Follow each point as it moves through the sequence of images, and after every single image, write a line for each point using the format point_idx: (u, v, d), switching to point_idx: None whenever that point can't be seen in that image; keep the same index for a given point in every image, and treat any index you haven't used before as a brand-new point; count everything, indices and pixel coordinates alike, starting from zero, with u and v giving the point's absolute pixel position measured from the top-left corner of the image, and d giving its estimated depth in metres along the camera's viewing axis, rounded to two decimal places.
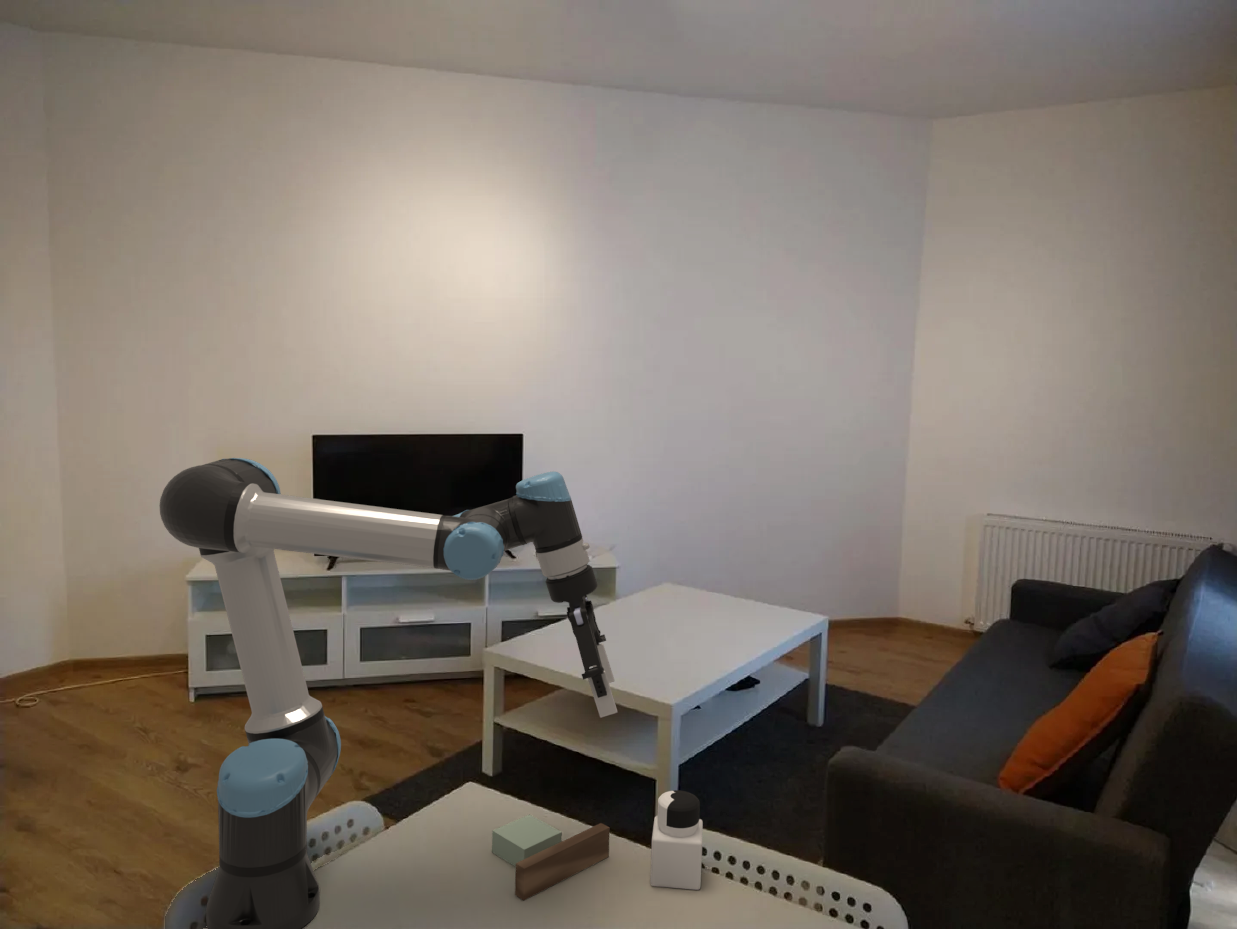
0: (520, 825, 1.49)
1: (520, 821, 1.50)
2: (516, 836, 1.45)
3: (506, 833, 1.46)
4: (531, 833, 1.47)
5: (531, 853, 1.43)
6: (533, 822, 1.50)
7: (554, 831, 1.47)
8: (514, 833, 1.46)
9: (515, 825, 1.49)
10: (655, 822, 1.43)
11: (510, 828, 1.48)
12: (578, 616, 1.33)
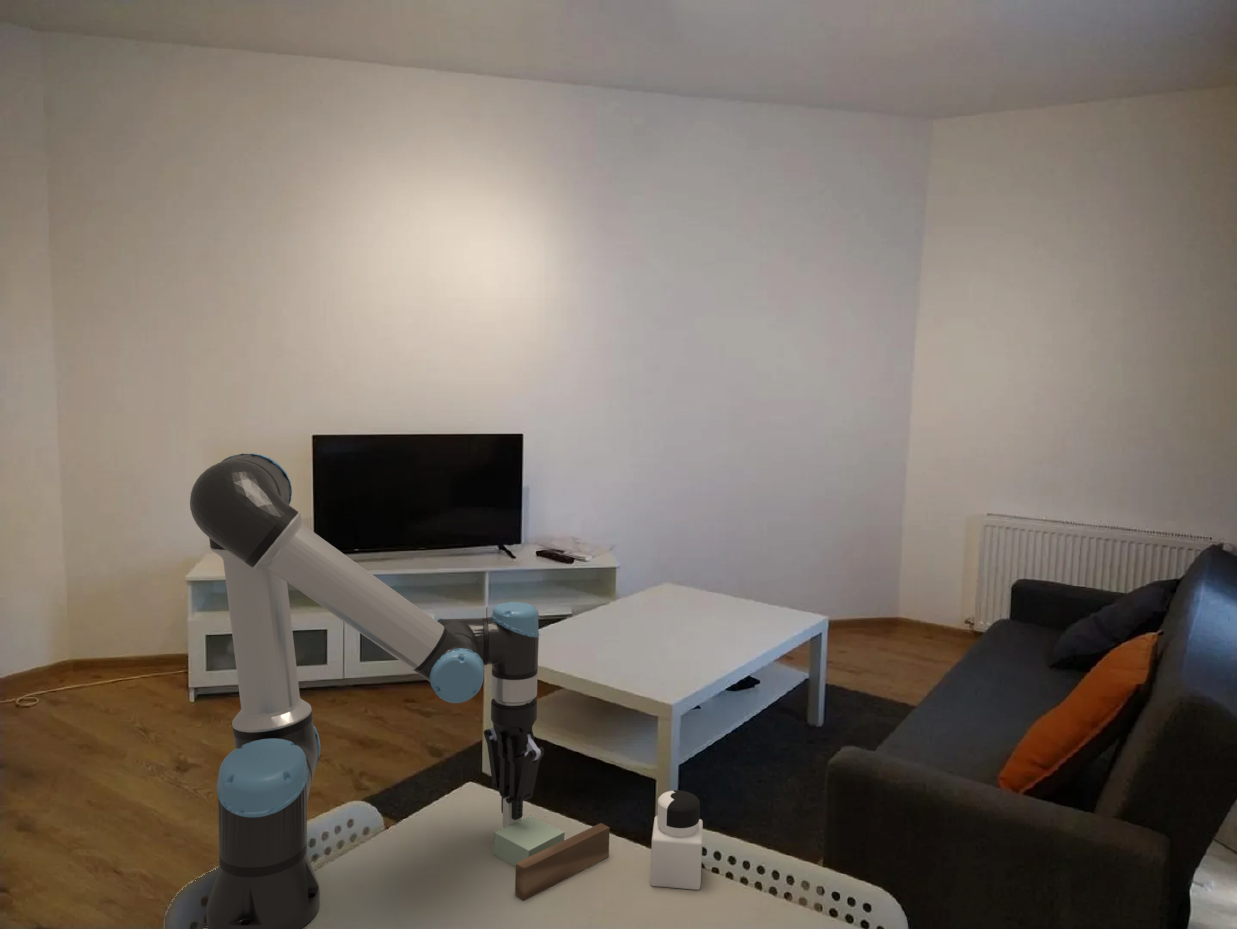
0: (522, 826, 1.48)
1: (521, 822, 1.50)
2: (519, 837, 1.45)
3: (509, 835, 1.45)
4: (534, 834, 1.46)
5: None
6: (535, 822, 1.50)
7: (557, 831, 1.47)
8: (517, 834, 1.46)
9: (517, 827, 1.48)
10: (655, 822, 1.43)
11: (512, 829, 1.47)
12: (537, 756, 1.44)
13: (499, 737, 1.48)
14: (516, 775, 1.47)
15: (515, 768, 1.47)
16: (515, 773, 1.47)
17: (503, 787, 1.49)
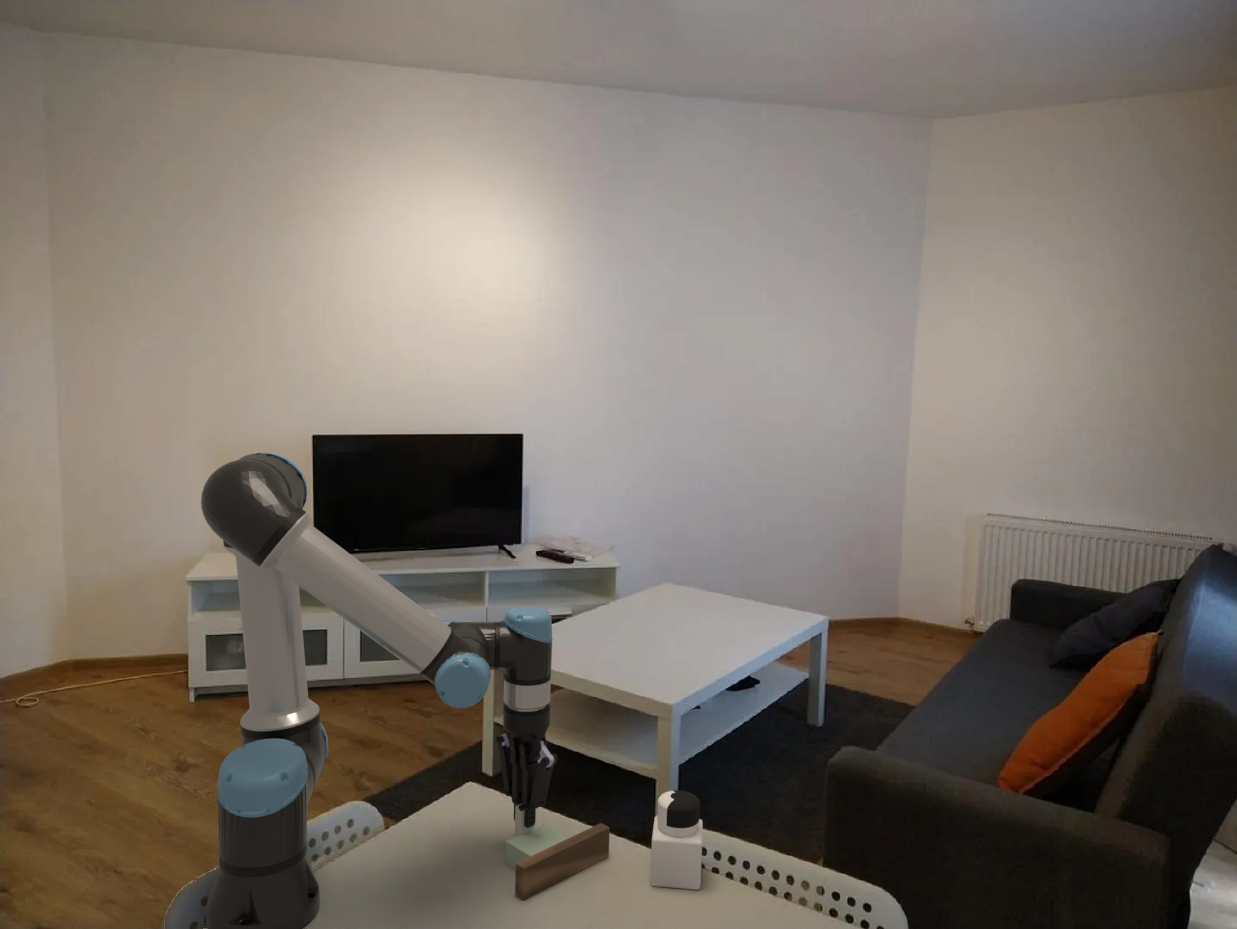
0: (534, 835, 1.46)
1: (534, 831, 1.47)
2: (530, 847, 1.42)
3: (520, 844, 1.43)
4: (545, 843, 1.44)
5: None
6: (547, 832, 1.47)
7: None
8: (528, 843, 1.43)
9: (529, 836, 1.46)
10: (655, 822, 1.43)
11: (524, 838, 1.45)
12: (550, 763, 1.42)
13: (512, 743, 1.46)
14: (528, 782, 1.45)
15: (528, 775, 1.45)
16: (528, 780, 1.45)
17: (515, 794, 1.47)
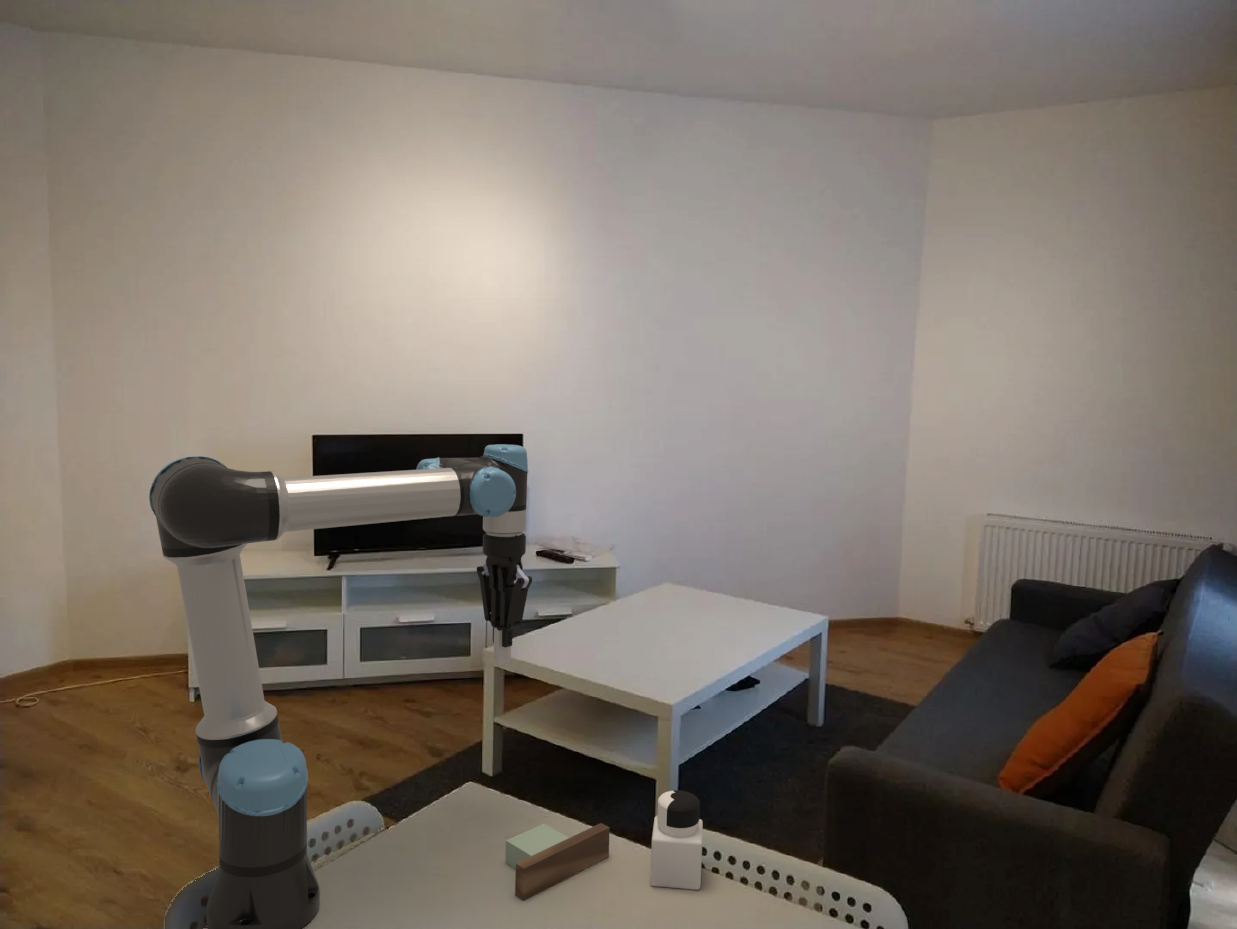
0: (534, 835, 1.46)
1: (534, 831, 1.47)
2: (530, 846, 1.42)
3: (520, 843, 1.43)
4: (545, 843, 1.44)
5: None
6: (547, 831, 1.47)
7: None
8: (528, 843, 1.43)
9: (529, 835, 1.46)
10: (655, 822, 1.43)
11: (524, 837, 1.45)
12: (525, 584, 1.55)
13: (490, 569, 1.59)
14: (506, 604, 1.58)
15: (505, 597, 1.58)
16: (505, 602, 1.58)
17: (494, 617, 1.60)
